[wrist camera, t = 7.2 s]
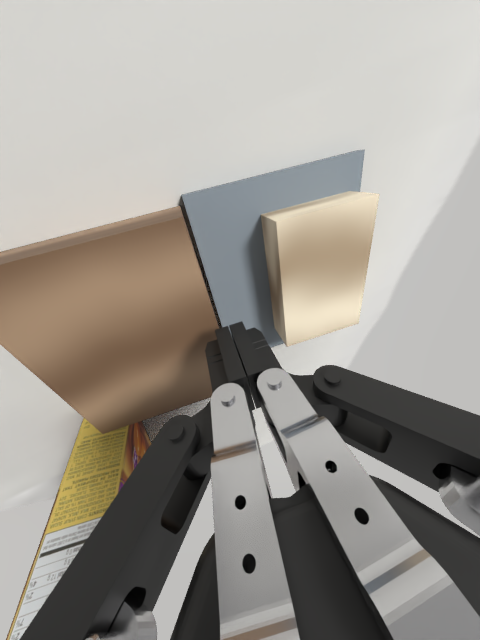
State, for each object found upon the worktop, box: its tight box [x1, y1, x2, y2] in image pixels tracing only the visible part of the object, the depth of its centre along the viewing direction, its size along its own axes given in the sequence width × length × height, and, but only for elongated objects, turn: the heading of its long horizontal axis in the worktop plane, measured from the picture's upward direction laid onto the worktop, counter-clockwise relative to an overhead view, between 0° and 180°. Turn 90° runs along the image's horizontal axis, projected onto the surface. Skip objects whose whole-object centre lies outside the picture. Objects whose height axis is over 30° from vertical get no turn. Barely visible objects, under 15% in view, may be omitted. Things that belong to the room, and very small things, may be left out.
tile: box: [261, 191, 379, 347], centre depth 15 cm, size 9×6×2 cm, turn 11°
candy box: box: [6, 418, 151, 640], centre depth 16 cm, size 9×4×15 cm, turn 0°
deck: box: [0, 206, 219, 434], centre depth 14 cm, size 12×10×4 cm
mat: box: [181, 150, 365, 348], centre depth 16 cm, size 13×11×1 cm
